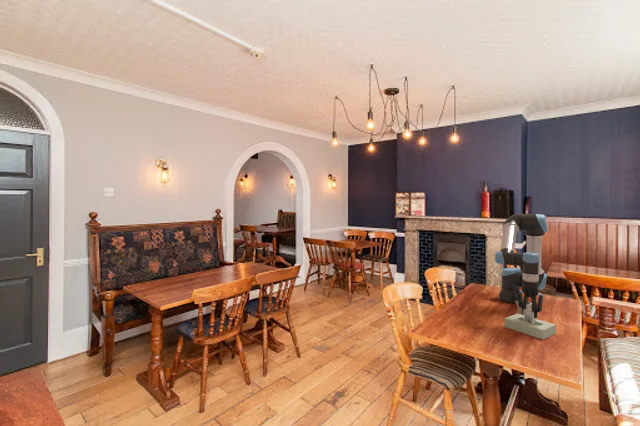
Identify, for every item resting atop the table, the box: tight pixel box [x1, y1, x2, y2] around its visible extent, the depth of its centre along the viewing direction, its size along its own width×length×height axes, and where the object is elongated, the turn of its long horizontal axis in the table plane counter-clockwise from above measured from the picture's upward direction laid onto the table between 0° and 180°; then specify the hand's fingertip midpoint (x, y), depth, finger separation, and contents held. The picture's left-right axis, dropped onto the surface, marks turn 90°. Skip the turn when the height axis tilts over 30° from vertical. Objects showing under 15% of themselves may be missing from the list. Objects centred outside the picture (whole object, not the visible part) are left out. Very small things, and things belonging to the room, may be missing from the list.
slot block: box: [504, 313, 557, 340], centre depth 178 cm, size 14×20×5 cm
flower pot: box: [515, 301, 532, 315], centre depth 198 cm, size 9×9×9 cm
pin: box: [526, 302, 533, 323], centre depth 178 cm, size 4×4×12 cm
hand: (529, 321), depth 178 cm, fingers closed on pin, 3 cm apart
